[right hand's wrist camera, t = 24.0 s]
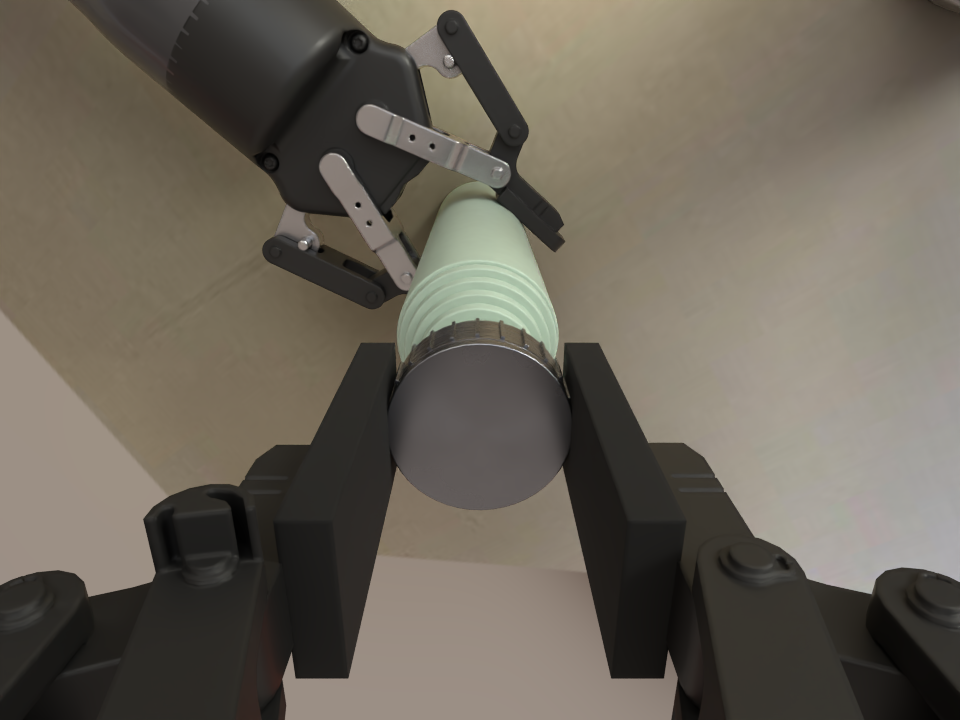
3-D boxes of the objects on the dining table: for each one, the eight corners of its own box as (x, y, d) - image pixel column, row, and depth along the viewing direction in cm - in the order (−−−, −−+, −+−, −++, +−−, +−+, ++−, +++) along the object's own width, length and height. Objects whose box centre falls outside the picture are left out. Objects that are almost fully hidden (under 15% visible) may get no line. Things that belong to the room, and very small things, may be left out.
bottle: (531, 244, 37) (611, 455, 15) (458, 276, 37) (428, 524, 15) (499, 167, 35) (535, 273, 13) (423, 202, 36) (333, 360, 14)
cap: (426, 290, 14) (420, 312, 12) (595, 353, 14) (608, 381, 13) (370, 443, 15) (358, 479, 14) (526, 495, 15) (531, 534, 14)
